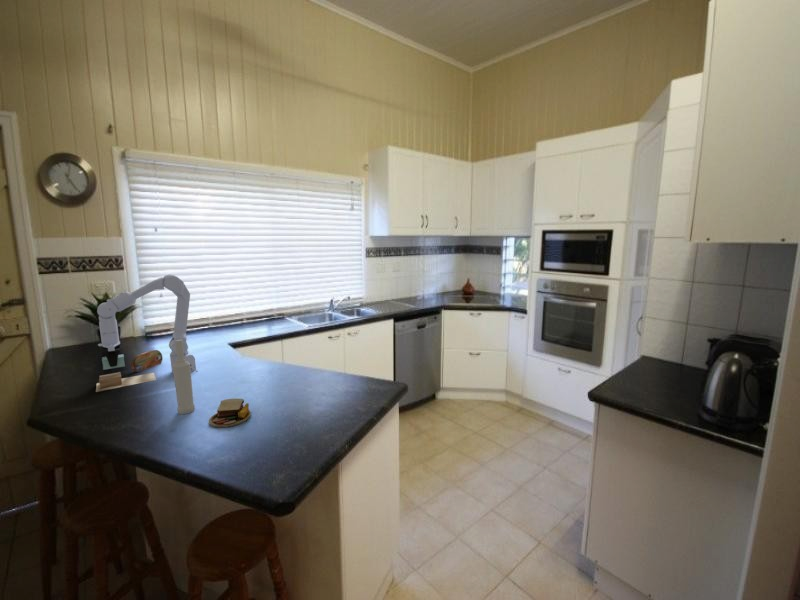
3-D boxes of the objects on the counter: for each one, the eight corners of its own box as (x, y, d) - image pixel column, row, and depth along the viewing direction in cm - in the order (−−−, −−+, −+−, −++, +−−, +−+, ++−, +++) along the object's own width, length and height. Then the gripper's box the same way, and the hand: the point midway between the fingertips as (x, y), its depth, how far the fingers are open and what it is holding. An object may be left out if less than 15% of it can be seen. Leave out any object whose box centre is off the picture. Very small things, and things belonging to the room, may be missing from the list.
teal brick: (124, 366, 154) (123, 356, 154) (103, 369, 150) (102, 360, 150) (124, 363, 158) (123, 354, 158) (103, 366, 154) (102, 357, 154)
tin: (136, 375, 168) (134, 357, 167) (130, 375, 169) (128, 356, 167) (164, 364, 183) (162, 348, 181) (158, 364, 183) (156, 347, 182)
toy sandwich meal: (201, 430, 116) (200, 415, 115) (220, 411, 130) (218, 398, 129) (243, 428, 117) (241, 413, 116) (257, 409, 130) (256, 396, 129)
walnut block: (122, 384, 154) (120, 376, 153) (100, 388, 150) (99, 380, 149) (121, 380, 159) (120, 372, 159) (100, 384, 155) (99, 375, 155)
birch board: (154, 374, 168) (153, 372, 168) (156, 382, 159) (156, 379, 158) (96, 385, 156) (96, 383, 156) (96, 394, 147) (95, 391, 146)
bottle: (191, 406, 133) (183, 337, 129) (197, 410, 130) (190, 339, 126) (175, 411, 129) (167, 340, 125) (181, 415, 126) (173, 343, 122)
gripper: (97, 330, 155) (101, 362, 157) (96, 337, 144) (100, 371, 146) (118, 328, 160) (122, 359, 162) (119, 334, 148) (123, 367, 150)
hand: (113, 364), depth 154 cm, fingers closed on teal brick, 5 cm apart
